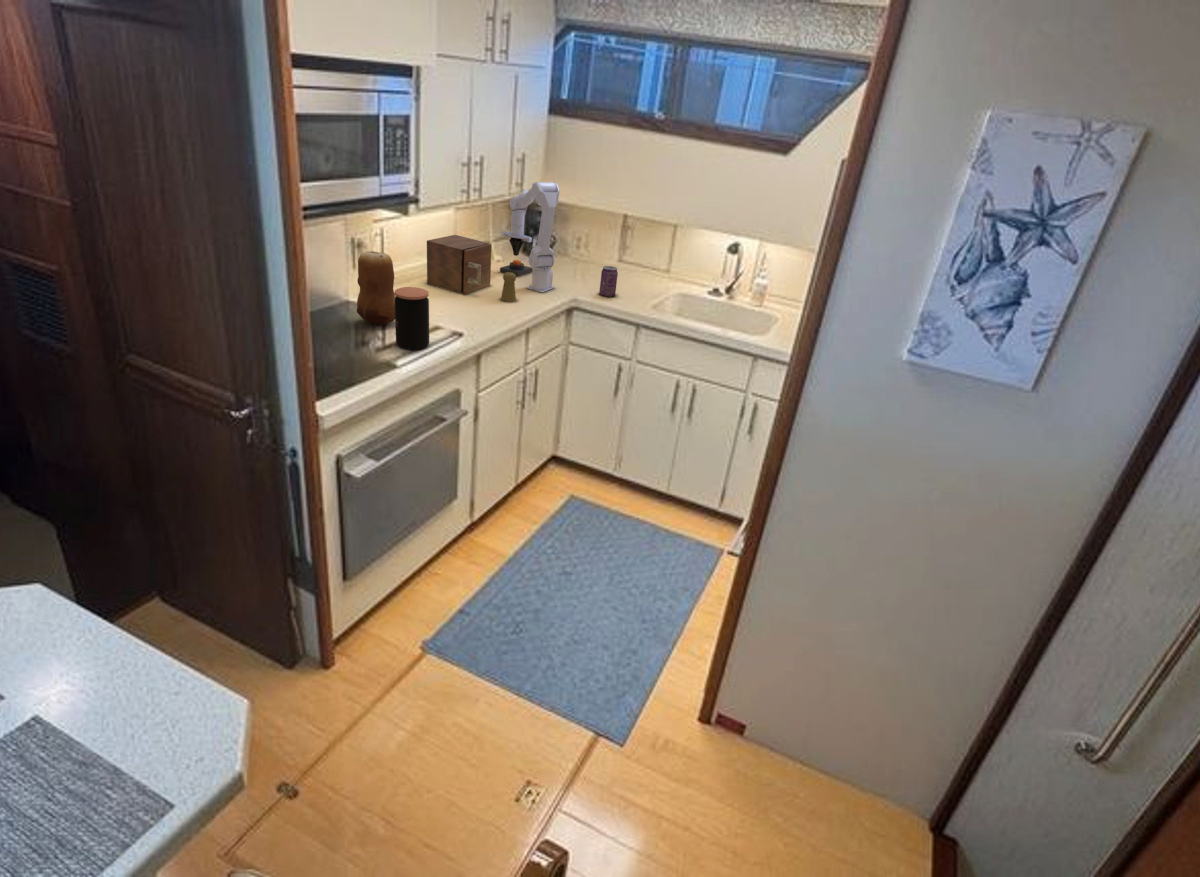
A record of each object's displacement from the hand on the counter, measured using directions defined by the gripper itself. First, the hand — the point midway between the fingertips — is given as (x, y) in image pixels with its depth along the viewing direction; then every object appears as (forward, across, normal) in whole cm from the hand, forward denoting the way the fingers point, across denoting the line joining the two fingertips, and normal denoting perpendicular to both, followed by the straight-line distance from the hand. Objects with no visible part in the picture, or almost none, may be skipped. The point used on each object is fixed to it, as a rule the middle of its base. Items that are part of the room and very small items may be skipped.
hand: (516, 255), depth 313 cm
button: (+5, -1, +2) cm, 6 cm away
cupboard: (+8, -6, -34) cm, 35 cm away
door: (+8, +7, -33) cm, 35 cm away
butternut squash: (+8, +6, -92) cm, 92 cm away
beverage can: (+9, +46, +4) cm, 47 cm away
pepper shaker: (+8, +21, -35) cm, 41 cm away
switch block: (+9, -1, +2) cm, 9 cm away
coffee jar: (+8, +28, -99) cm, 103 cm away
